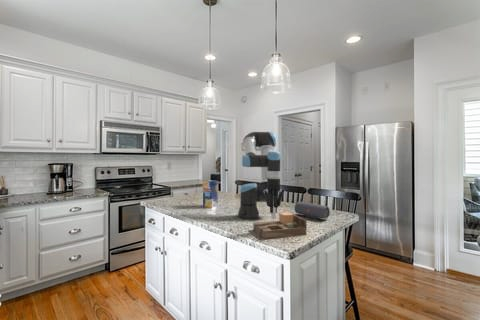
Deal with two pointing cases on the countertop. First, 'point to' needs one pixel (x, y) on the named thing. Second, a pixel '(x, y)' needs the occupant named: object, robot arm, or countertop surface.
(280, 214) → the block
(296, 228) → the box
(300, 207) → the bluetooth speaker
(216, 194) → the beverage box
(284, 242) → the countertop surface
